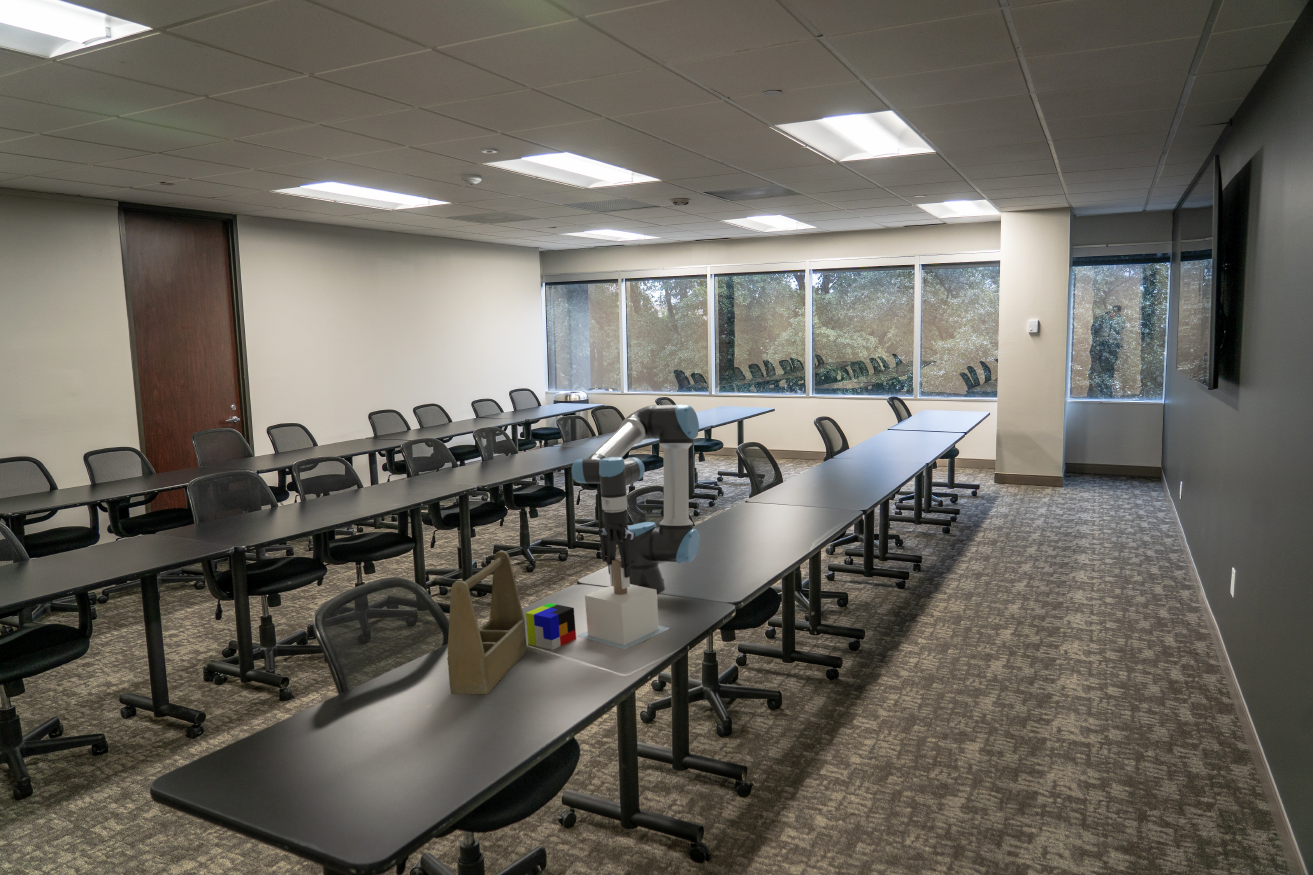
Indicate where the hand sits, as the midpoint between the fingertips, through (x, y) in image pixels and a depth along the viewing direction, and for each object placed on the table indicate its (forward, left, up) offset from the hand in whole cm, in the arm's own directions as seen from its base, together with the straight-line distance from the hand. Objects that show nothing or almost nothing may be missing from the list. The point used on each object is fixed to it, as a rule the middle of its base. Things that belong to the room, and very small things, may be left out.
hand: (620, 586), depth 249 cm
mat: (0, 0, -15) cm, 15 cm away
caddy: (+41, -11, -15) cm, 45 cm away
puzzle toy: (+17, -13, -15) cm, 26 cm away
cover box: (0, 0, -14) cm, 14 cm away
